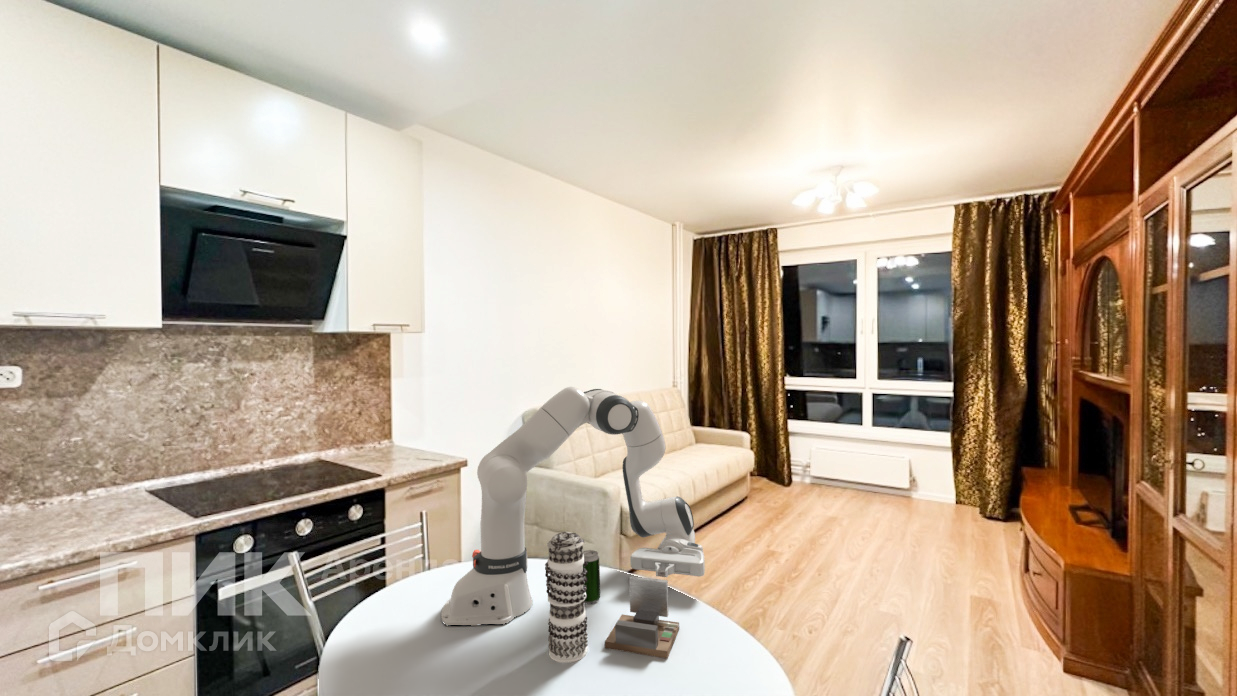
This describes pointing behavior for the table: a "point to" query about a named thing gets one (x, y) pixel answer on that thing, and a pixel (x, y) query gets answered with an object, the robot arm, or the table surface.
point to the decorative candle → (566, 598)
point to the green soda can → (592, 576)
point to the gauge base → (656, 653)
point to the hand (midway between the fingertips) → (661, 573)
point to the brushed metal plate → (649, 600)
